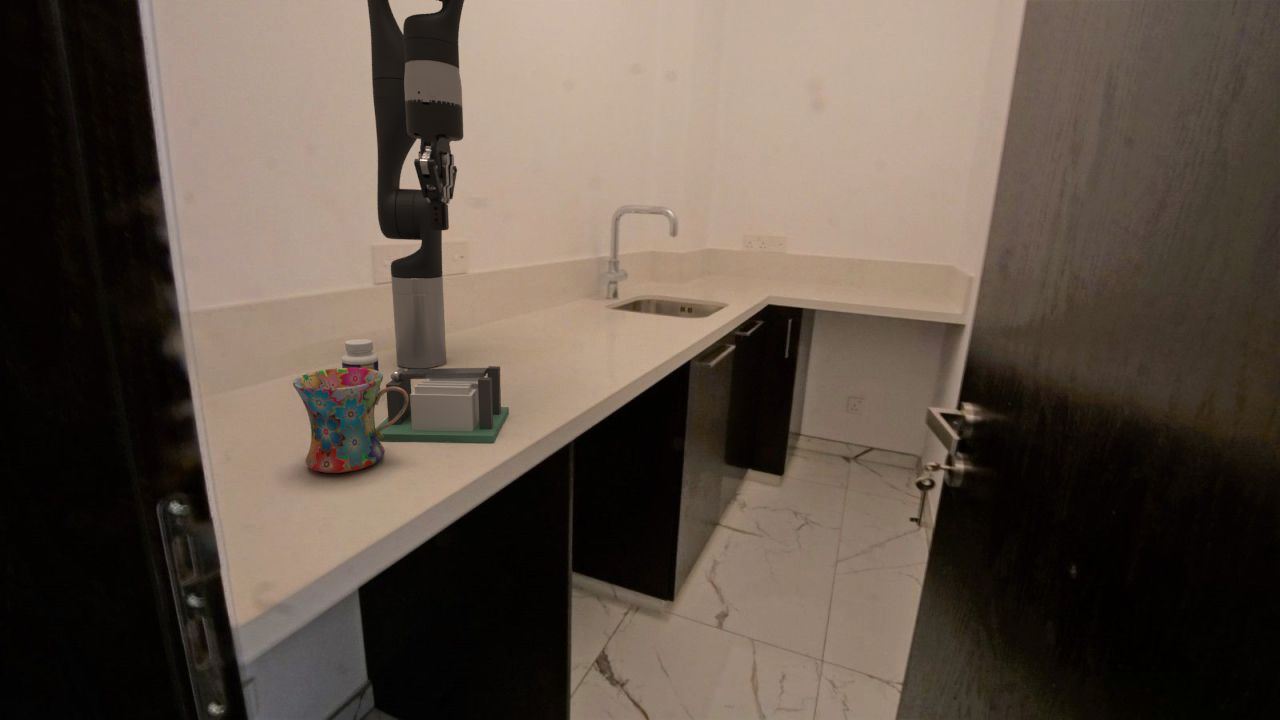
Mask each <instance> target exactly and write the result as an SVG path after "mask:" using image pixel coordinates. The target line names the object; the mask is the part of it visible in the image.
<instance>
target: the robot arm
mask: <svg viewBox="0 0 1280 720" xmlns="http://www.w3.org/2000/svg"><path fill="white" fill-rule="evenodd" d="M366 1H367V9H368V17H369V28H370V47H371V48H370V49H371V51H370V52H371V79H372V80H371V81H372V82H371V84H372V97H373V98H372V99H373V109H374V120H375V130H376V145H377V199H376V200H377V201H376V202H377V203H376V204H377V208H376V209H377V218H378V225H379V228H380V231H381V233H382V235H383V237H385V238H387V239H389V240H390V239H391V240H410V241H421V244H420V247H419V249H417V250H416V251H414V252H413V253H411V254H409V255H407V256H403V257H400V258H397V259H394V260H393V261H391V263H390V275H391V277H390V278H391V292H392V306H393V320H394V334H395V335H394V336H395V337H394V338H395V352H396V353H395V354H396V364H397V366H399V367H400V368H407V369H430V368H435V367H439V366H442V365H444V364H446V363H447V350H446V349H447V348H446V347H447V345H446V344H447V343H446V341H447V340H446V326H445V325H446V323H445V322H446V321H445V303H444V301H445V300H444V299H445V298H444V297H445V296H444V279H443V251H442V250H443V241H442V240H443V239H442V238H443V237H442V236H443V235H442V234H443V231H448V230H449V229H450V228H449V227H450V224H449V204H450V201H451V200H453V198H454V192H455V191H454V190H455V186H456V179H457V172H458V168H457V166H456V165H455V155H454V154H452V150H451V145H450V143H451V142H459V141H462V140H463V139H464V117H463V116H464V111H463V110H464V109H463V90H462V88H463V86H462V80H461V73H460V55H459V54H460V53H459V50H460V49H459V36H460V35H459V32H460V23H461V17H462V11H463V8H464V7H463V6H464V2H465V0H436V1H439V2H441V3H442V6H441V9H440V10H439V11H436V12H431V13H430V12H429V13H418V14H417V13H416V14H412V15H409V16H407V17H406V18H405V19H404V22H403V28H402V30H401V28H400V26H399V24H398V22H397V20H396V18H395V16H394V13H393V11H392V10H393V9H392V8H391V5H390V1H389V0H366ZM402 31H403V32H402ZM417 140H420V147H419V151H418V157H417V158H415V159H414V162H413V164H414V168H415V171H416V175H417V179H418V183H419V186H420V189H416V188H415V189H413V188H400V185H401V182H400V181H401V174H402V170H403V167H404V164H405V161H406V159H407V156H408V155H409V152H410V151H411V150H412V148H413V146H414V145H415V143H416V141H417Z"/></svg>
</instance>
